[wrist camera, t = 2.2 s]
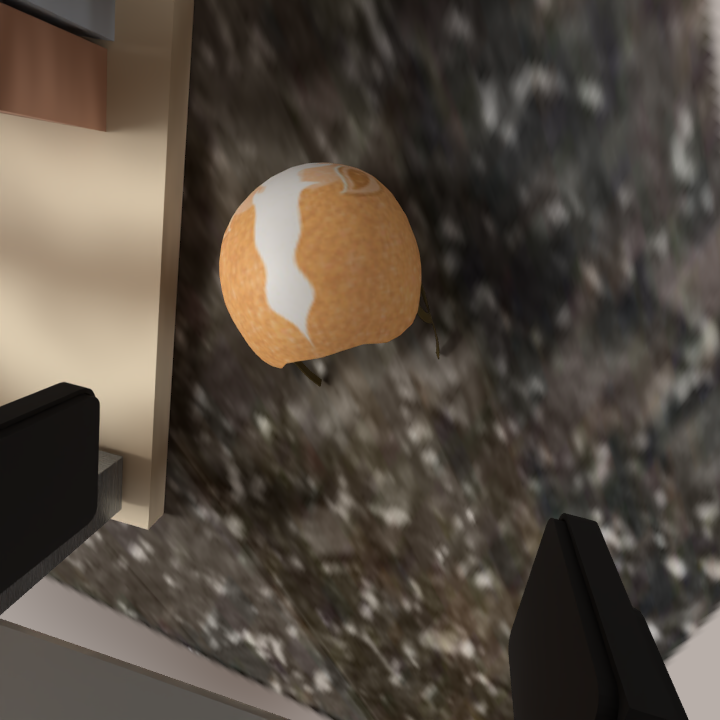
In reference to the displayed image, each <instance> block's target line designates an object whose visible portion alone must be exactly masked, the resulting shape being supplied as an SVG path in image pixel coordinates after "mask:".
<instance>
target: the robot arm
mask: <svg viewBox="0 0 720 720" xmlns="http://www.w3.org/2000/svg"><path fill="white" fill-rule="evenodd" d="M99 426H100V402H99V400H98V398H96V397H95V394H94V392H93V391H92V390H91V389H90V388H86V387H82V386H78V385H75V384H71V383H67V382H61V383H58V384H55V385H53V386H50V387H48V388H45V389H43V390H40V391H38V392H35V393H33V394H30V395H28V396H25V397H23V398H20V399H18V400H15V401H13V402H10V403H8V404H5V405H2V406H0V594H1V593H3V592H4V591H5V590H6V589H8V588H9V587H10V586H11V585H13V584H14V583H15V582H16V581H18V580H19V579H20V578H21V577H23V576H24V575H25V574H26V573H28V572H29V571H30V570H31V569H33V568H34V567H35V566H37V565H38V564H39V563H40V562H42V561H43V560H44V559H45V558H47V557H48V556H49V555H50V554H52V553H53V552H54V551H55V550H57V549H58V548H59V547H60V546H62V545H63V544H64V543H65V542H67V541H68V540H69V539H70V538H72V537H73V536H74V535H75V534H77V533H78V532H79V531H80V530H82V529H83V528H84V527H85V526H87V525H88V524H89V523H90V522H91V520H92V519H93V517H94V515H95V513H96V510H97V499H98V463H99ZM509 664H510V676H511V687H512V699H513V710H514V720H688V717H687V715H686V713H685V710H684V708H683V706H682V703H681V701H680V699H679V697H678V694H677V692H676V690H675V687H674V685H673V683H672V680H671V678H670V676H669V674H668V671H667V669H666V667H665V664H664V662H663V660H662V657H661V655H660V653H659V651H658V648H657V646H656V644H655V641H654V639H653V637H652V634H651V632H650V630H649V628H648V625H647V623H646V621H645V618H644V617H643V615H642V614H641V612H640V611H639V610H637V609H636V608H633V607H632V605H631V602H630V600H629V598H628V595H627V593H626V590H625V588H624V586H623V583H622V581H621V578H620V576H619V574H618V571H617V569H616V566H615V564H614V562H613V559H612V557H611V554H610V552H609V550H608V547H607V545H606V542H605V540H604V538H603V535H602V533H601V530H600V528H599V526H598V524H597V522H596V521H592V520H588V519H585V518H581V517H577V516H573V515H569V514H566V513H563V514H562V515H561V516H560V518H559V520H558V519H554V518H550V519H549V521H548V523H547V525H546V528H545V531H544V534H543V537H542V540H541V543H540V546H539V549H538V552H537V555H536V558H535V561H534V564H533V567H532V570H531V573H530V576H529V579H528V582H527V585H526V588H525V591H524V594H523V597H522V600H521V603H520V606H519V609H518V612H517V615H516V618H515V621H514V624H513V627H512V630H511V634H510V639H509ZM0 720H290V719H287V718H283V717H281V716H278V715H275V714H273V713H269V712H267V711H264V710H261V709H258V708H256V707H253V706H250V705H247V704H244V703H242V702H239V701H236V700H233V699H230V698H227V697H225V696H222V695H219V694H216V693H213V692H211V691H208V690H205V689H202V688H199V687H196V686H193V685H191V684H187V683H184V682H182V681H179V680H176V679H173V678H170V677H168V676H165V675H162V674H159V673H156V672H153V671H150V670H147V669H145V668H141V667H139V666H136V665H133V664H130V663H127V662H124V661H121V660H119V659H116V658H113V657H110V656H107V655H104V654H101V653H99V652H95V651H92V650H90V649H87V648H84V647H81V646H78V645H75V644H72V643H69V642H66V641H64V640H61V639H58V638H55V637H52V636H49V635H46V634H43V633H41V632H38V631H35V630H31V629H29V628H26V627H23V626H20V625H17V624H14V623H12V622H9V621H6V620H3V619H0Z"/></svg>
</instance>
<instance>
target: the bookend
mask: <svg viewBox="0 0 720 720" xmlns="http://www.w3.org/2000/svg"><path fill="white" fill-rule="evenodd" d="M122 478H123V456H119V455H116V454H112V453H108V452H105V451H101V450H99V463H98V499H97V510H96V513H95V515H94V517H93V519H92V520H91V522H90V523H89V524H88V525H87V526H85V527H84V528H83V529H82V530H80V531H79V532H78V533H77V534H75V535H74V536H73V537H72V538H70V539H69V540H68V541H67V542H65V543H64V544H63V545H62V546H60V547H59V548H58V549H57V550H55V551H54V552H53V553H52V554H50V555H49V556H48V557H47V558H45V559H44V560H43V561H42V562H40V563H39V564H38V565H37V566H35V567H34V568H33V569H31V570H30V571H29V572H28V573H26V574H25V575H24V576H23V577H21V578H20V579H19V580H18V581H16V582H15V583H14V584H13V585H11V586H10V587H9V588H8V589H6V590H5V591H4V592H3V593H1V594H0V615H1V614H2V613H3V612H4V611H5V610H7V609H8V608H9V607H10V606H11V605H12V604H14V603H15V602H16V601H17V600H18V599H19V598H20V597H22V596H23V595H24V594H25V593H26V592H27V591H28V590H29V589H31V588H32V587H33V586H34V585H35V584H36V583H38V582H39V581H40V580H41V579H42V578H43V577H44V576H46V575H47V574H48V573H49V572H50V571H51V570H52V569H54V568H55V567H56V566H57V565H58V564H59V563H60V562H62V561H63V560H64V559H65V558H66V557H67V556H68V555H70V554H71V553H72V552H73V551H74V550H75V549H76V548H78V547H79V546H80V545H81V544H82V543H83V542H84V541H86V540H87V539H88V538H89V537H90V536H91V535H92V534H94V533H95V532H96V531H97V530H98V529H99V528H100V527H102V526H103V525H104V524H105V523H106V522H107V521H108V520H110V519H111V518H112V517H113V516H114V515H115V514H116V513H118V512H119V511H120V510H121V509H122Z"/></svg>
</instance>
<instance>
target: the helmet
mask: <svg viewBox="0 0 720 720" xmlns="http://www.w3.org/2000/svg"><path fill="white" fill-rule="evenodd" d="M219 271H220V281H221V287H222V292H223V296H224V300H225V304H226V306H227V309H228V311H229V313H230V315H231V317H232V319H233V321H234V323H235V324H236V326H237V328H238V329H239V331H240V333H241V334H242V336H243V337H244V339H245V340H246V342H247V343H248V345H249V346H250V347H251V348H252V350H253V351H254V352H255V353H256V354H257V355H258V356H259V357H260V358H261V359H262V360H263V361H265V362H266V363H268V364H270V365H271V366H273V367H278V368H282V367H283V366H284V365H285V364H286V363H291V362H294V363H295V364H296V365H297V367H298V368H299V369H300V370H301V371H302V372H303V373H304V374H305V375H306V376H307V377H308V378H309V379H310V380H312V381H313V382H314V383H316V384H317V385H318V386H321V382H322V380H321V379H320V378H319V377H317V376H316V375H315V374H314V373H312V372H311V371H310V370H309V369H308V368H307V367H306V366H305V365H304V364H303V363H302V362H301V361H303V360H309V359H315V358H321V357H325V356H328V355H331V354H334V353H337V352H340V351H343V350H346V349H350V348H353V347H356V346H359V345H362V344H375V343H386V342H389V341H391V340H392V339H394V338H396V337H398V336H400V335H401V334H402V333H403V332H404V331H405V330H406V329H407V328H408V327H409V326H410V325H411V324H412V323H413V321H414V319H415V316H416V314H418V316H419V317H420V318H421V319H422V320H423V321H424V322H426V323H432V325H433V328H434V332H435V337H436V354H437V357H438V359H439V342H438V337H437V334H436V330H435V327H434V324H433V321H432V318H431V314H430V310H429V306H428V302H427V298H426V295H425V291H424V288H423V284H422V281H421V262H420V253H419V249H418V245H417V242H416V239H415V236H414V234H413V231H412V229H411V226H410V224H409V221H408V219H407V216H406V214H405V213H404V211H403V210H402V208H401V207H400V205H399V203H398V202H397V200H396V199H395V197H394V196H393V194H392V193H391V192H390V191H389V190H388V189H387V188H386V187H385V186H384V185H383V184H382V183H380V182H379V181H378V180H377V179H376V178H375V177H373V176H372V175H370V174H368V173H366V172H364V171H362V170H360V169H358V168H355V167H351V166H347V165H343V164H334V163H307V164H303V165H299V166H294V167H291V168H289V169H287V170H285V171H283V172H281V173H279V174H277V175H275V176H273V177H271V178H270V179H268V180H267V181H266V182H264V183H263V184H262V185H260V186H259V187H258V188H256V189H255V190H254V191H253V192H252V193H251V194H250V195H249V196H248V197H247V198H246V200H245V201H244V202H243V203H242V204H241V205H240V206H239V207H238V209H237V210H236V212H235V214H234V215H233V217H232V219H231V221H230V223H229V225H228V227H227V229H226V231H225V233H224V237H223V241H222V246H221V254H220V261H219ZM420 291H421V294H422V297H423V299H424V302H425V305H426V307H427V310H428V313H426V312H425V311H424V310H423V309H422V308H421V307H420V305H419V300H420Z"/></svg>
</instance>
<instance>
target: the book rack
mask: <svg viewBox="0 0 720 720" xmlns="http://www.w3.org/2000/svg"><path fill="white" fill-rule="evenodd" d="M193 13H194V0H0V406H2V405H5V404H8V403H10V402H13V401H15V400H18V399H20V398H23V397H25V396H28V395H30V394H33V393H35V392H38V391H40V390H43V389H45V388H48V387H50V386H53V385H55V384H58V383H61V382H67V383H71V384H75V385H78V386H82V387H86V388H90V389H91V390H92V391H93V392H94V394H95V397H96V398H98V400H99V402H100V426H99V450H101V451H105V452H108V453H112V454H116V455H119V456H123V478H122V509H121V510H120V511H119V512H118V513H116V514H115V515H114V516H113V517H112V518H111V519H113V520H117V521H120V522H124V523H127V524H131V525H134V526H137V527H141V528H144V529H149V528H150V527H151V526H152V525H153V524H154V523H155V522H156V521H157V520H158V519H159V518H160V517H161V516H162V515H163V514H164V500H165V483H166V466H167V449H168V433H169V416H170V399H171V382H172V365H173V349H174V332H175V315H176V298H177V282H178V265H179V248H180V231H181V214H182V198H183V181H184V164H185V147H186V130H187V114H188V97H189V80H190V63H191V47H192V30H193Z"/></svg>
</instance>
